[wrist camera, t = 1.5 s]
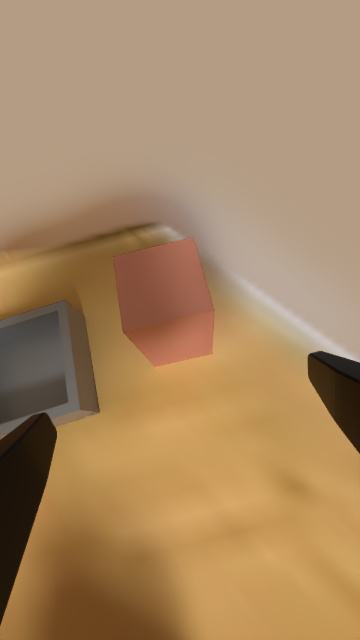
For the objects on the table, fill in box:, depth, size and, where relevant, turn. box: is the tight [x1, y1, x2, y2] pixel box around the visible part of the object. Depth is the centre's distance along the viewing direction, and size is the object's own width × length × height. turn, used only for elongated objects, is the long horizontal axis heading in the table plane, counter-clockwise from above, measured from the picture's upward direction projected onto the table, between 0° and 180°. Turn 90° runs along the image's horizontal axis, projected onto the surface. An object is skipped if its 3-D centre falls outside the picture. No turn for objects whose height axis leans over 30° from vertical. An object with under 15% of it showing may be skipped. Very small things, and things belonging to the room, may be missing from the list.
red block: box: [113, 238, 214, 367], centre depth 19 cm, size 5×5×9 cm
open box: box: [0, 300, 100, 439], centre depth 21 cm, size 9×9×4 cm
